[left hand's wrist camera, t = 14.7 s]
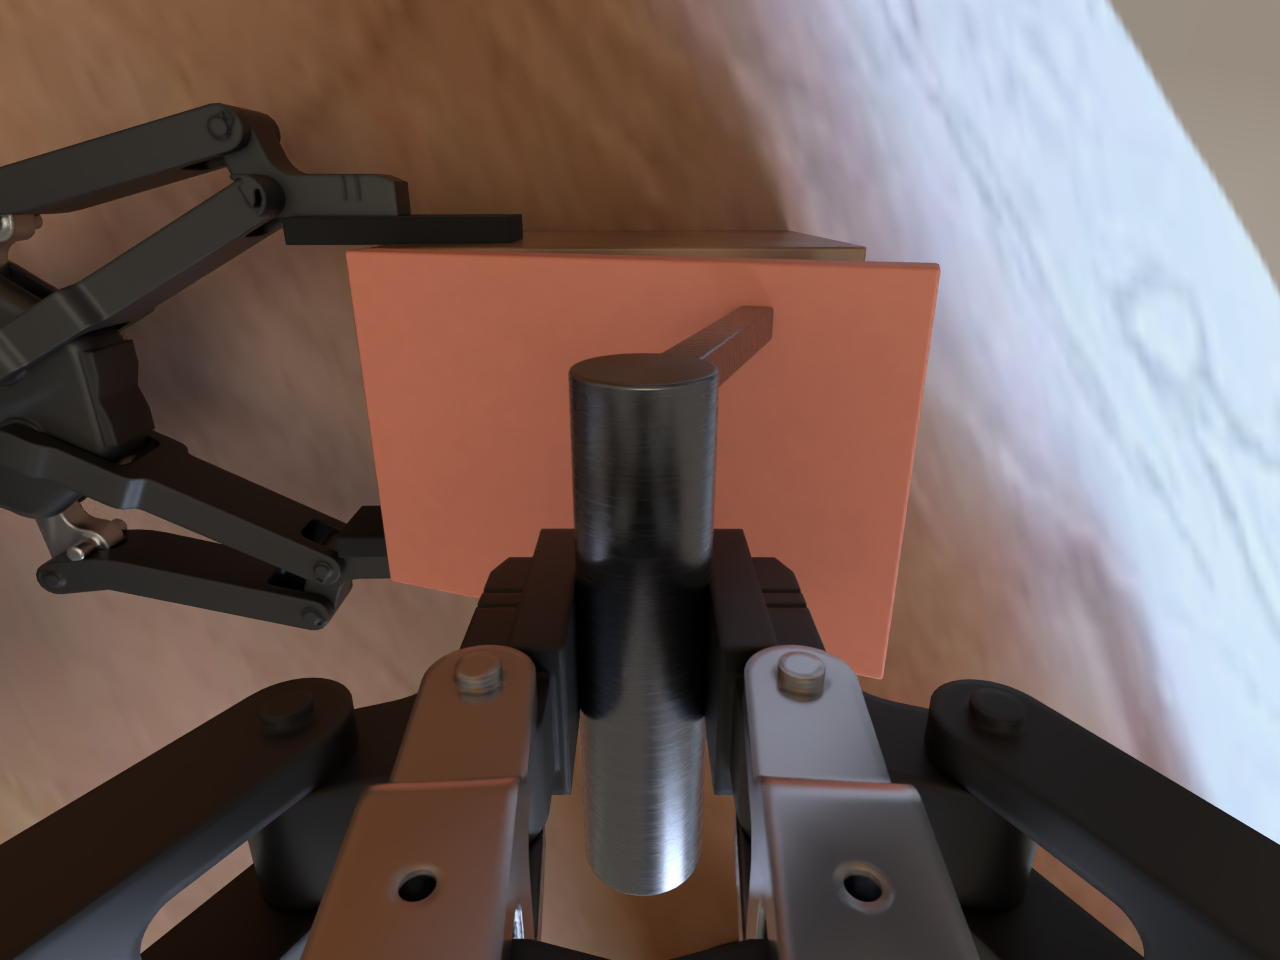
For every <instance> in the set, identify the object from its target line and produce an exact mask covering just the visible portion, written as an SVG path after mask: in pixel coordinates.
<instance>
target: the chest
mask: <svg viewBox="0 0 1280 960" xmlns="http://www.w3.org/2000/svg"><path fill="white" fill-rule="evenodd" d="M373 248H385V249H422V250H460V251H497V252H535V253H573V254H610V255H648V256H685V257H723V258H761V259H798V260H836V261H865V256H866V247H864V246H859V245H854V244H850V243H845V242H840V241H835V240H831V239H826V238H821V237H816V236H812V235H807V234H802V233H797V232H793V231H523V239H521V240H518V241H516V242H513V243H496V244H387V245H382V246H377V247H372V248H370V249H373Z"/></svg>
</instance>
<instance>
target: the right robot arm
mask: <svg viewBox="0 0 1280 960" xmlns="http://www.w3.org/2000/svg"><path fill="white" fill-rule="evenodd" d="M280 138H281V136H280V131H279V128H278V126H277V124H276V123H275V121H274V120H273V119H272V118H271V117H269V116H268V115H266V114H264V113H261V112H257V111H252V110H248V109H243V108H239V107H234V106H230V105H225V104H221V103H213V104H208V105H204V106H201V107H198V108H194V109H191V110H188V111H184V112H181V113H178V114H175V115H171V116H168V117H165V118H161V119H158V120H155V121H151V122H148V123H145V124H141V125H138V126H135V127H131V128H128V129H125V130H121V131H118V132H115V133H111V134H108V135H105V136H101V137H98V138H95V139H92V140H88V141H85V142H82V143H78V144H75V145H72V146H68V147H65V148H62V149H58V150H55V151H52V152H48V153H45V154H42V155H38V156H35V157H32V158H28V159H25V160H22V161H19V162H15V163H12V164H9V165H5V166H2V167H0V508H4V509H6V510H9V511H12V512H14V513H16V514H18V515H21V516H24V517H27V518H33V519H36V522H37V524H38V526H39V528H40V531H41V533H42V535H43V538H44V540H45V542H46V545H47V547H48V549H49V551H50V554H51V556H52V559H51V560H49V561H47V562H46V563H44V564H43V565H41V566H40V567H39V568H38V569H37V573H36V576H37V581H38V582H39V583H40V585H41V586H42V587H43V588H44V589H46V590H47V591H49V592H52V593H54V594H67V593H77V592H88V591H98V590H114V591H119V592H124V593H129V594H134V595H139V596H144V597H149V598H154V599H159V600H164V601H169V602H174V603H179V604H184V605H189V606H194V607H199V608H204V609H209V610H214V611H219V612H224V613H228V614H233V615H238V616H243V617H248V618H253V619H258V620H263V621H268V622H273V623H278V624H283V625H288V626H293V627H298V628H303V629H308V630H319V629H322V628H324V627H325V626H326V625H327V624H328V623H329V621H330V620H331V618H332V617H333V615H334V614H335V612H336V611H337V610H338V608H339V607H340V605H341V604H342V602H343V601H344V599H345V598H346V597H347V595H348V594H349V592H350V591H351V588H352V586H353V584H352V580H353V579H368V578H391V577H390V570H389V563H388V555H387V548H386V541H385V534H384V527H383V520H382V512H381V506H362V507H361V508H360V509H359V510H358V511H357V512H356V514H355V515H354V516H353V517H352V518H351V520H350V521H349V522H348V523H347V524H346V523H344V522H341V521H339V520H337V519H335V518H332V517H330V516H328V515H326V514H323V513H321V512H319V511H316V510H314V509H312V508H310V507H307V506H305V505H303V504H301V503H298V502H296V501H294V500H292V499H289V498H287V497H285V496H282V495H280V494H278V493H276V492H273V491H271V490H269V489H267V488H264V487H262V486H260V485H258V484H255V483H253V482H251V481H248V480H246V479H244V478H242V477H239V476H237V475H235V474H233V473H230V472H228V471H226V470H224V469H221V468H219V467H217V466H215V465H212V464H210V463H208V462H205V461H203V460H201V459H199V458H196V457H194V456H192V455H190V454H189V453H188V449H187V447H186V446H185V445H184V444H182V443H180V442H178V441H176V440H174V439H171V438H169V437H167V436H165V435H162V434H160V433H158V432H156V431H153V429H155V427H154V423H153V419H152V415H151V411H150V407H149V405H148V404H147V402H146V400H145V398H144V396H143V394H142V392H141V390H140V388H139V386H138V359H137V355H136V351H135V348H134V344H133V340H124V338H123V337H122V335H121V334H120V332H121V331H122V330H124V329H126V328H127V327H129V326H130V325H132V324H134V323H135V322H137V321H138V320H140V319H142V318H143V317H145V316H147V315H148V314H150V313H151V312H153V311H154V310H155V309H154V308H155V307H156V306H157V305H159V304H160V303H162V302H164V301H165V300H167V299H168V298H170V297H172V296H173V295H175V294H176V293H178V292H180V291H181V290H183V289H184V288H186V287H188V286H189V285H191V284H192V283H194V282H196V281H197V280H199V279H200V278H202V277H204V276H205V275H207V274H208V273H210V272H212V271H213V270H215V269H217V268H218V267H220V266H221V265H223V264H225V263H226V262H228V261H229V260H231V259H233V258H234V257H236V256H237V255H239V254H241V253H242V252H244V251H245V250H247V249H249V248H250V247H252V246H253V245H255V244H257V243H258V242H260V241H261V240H263V239H265V238H266V237H268V236H269V235H271V234H273V233H274V232H276V231H277V230H279V229H281V228H282V227H283V230H284V235H285V241H286V245H387V244H496V243H513V242H516V241H518V240H521V239H523V229H522V214H448V215H411V211H410V202H409V192H408V183H407V182H406V181H403V180H401V179H399V178H396V177H394V176H391V175H382V174H305V173H303V172H301V171H299V170H298V169H296V168H295V167H294V166H293V165H292V164H291V163H290V161H289V160H288V158H287V157H286V155H285V153H284V151H283V149H282V147H281V145H280ZM225 167H227V168H228V170H229V172H230V174H231V176H230V177H231V179H232V180H234V181H235V182H233V183H232V184H230V185H229V186H227V187H226V188H224V189H223V190H221V191H219V192H218V193H216V194H215V195H213V196H212V197H210V198H209V199H207V200H205V201H204V202H202V203H201V204H199V205H198V206H196V207H195V208H193V209H192V210H190V211H188V212H187V213H185V214H184V215H182V216H181V217H179V218H178V219H176V220H174V221H173V222H171V223H170V224H168V225H167V226H165V227H164V228H162V229H160V230H159V231H157V232H156V233H154V234H153V235H151V236H150V237H148V238H146V239H145V240H143V241H142V242H140V243H139V244H137V245H136V246H134V247H132V248H131V249H129V250H128V251H126V252H125V253H123V254H122V255H120V256H118V257H117V258H115V259H114V260H112V261H111V262H109V263H108V264H106V265H104V266H103V267H101V268H100V269H98V270H97V271H95V272H94V273H92V274H91V275H89V276H87V277H86V278H84V279H83V280H81V281H79V282H78V283H75V284H73V285H71V286H68V287H65V288H62V289H60V290H58V289H57V288H55V287H53V286H52V285H50V284H48V283H47V282H45V281H43V280H42V279H40V278H38V277H37V276H35V275H34V274H32V273H30V272H29V271H27V270H25V269H24V268H22V267H20V266H19V265H17V264H15V263H13V262H11V261H8V251H9V248H10V247H11V245H12V244H14V243H15V242H18V241H23V240H28V239H29V238H31V237H32V236H33V235H34V233H35V230H36V229H38V228H40V227H41V226H42V218H41V216H40V214H56V213H68V212H72V211H77V210H82V209H85V208H88V207H92V206H95V205H99V204H102V203H105V202H109V201H112V200H116V199H119V198H122V197H126V196H129V195H133V194H136V193H139V192H143V191H146V190H150V189H153V188H156V187H160V186H163V185H167V184H170V183H173V182H177V181H180V180H184V179H187V178H190V177H194V176H197V175H201V174H204V173H208V172H211V171H214V170H218V169H221V168H225ZM130 461H131V462H130ZM87 497H89V498H91V499H93V500H96V501H98V502H100V503H103V504H105V505H108V506H110V507H113V508H116V509H141V510H144V511H146V512H148V513H151V514H153V515H155V516H158V517H160V518H163V519H165V520H167V521H170V522H172V523H174V524H177V525H179V526H181V527H184V528H186V529H189V530H191V531H193V532H196V533H198V534H200V535H203V536H205V537H208V538H210V539H212V540H215V541H217V542H219V543H222V544H218V543H214V542H209V541H204V540H199V539H195V538H190V537H185V536H180V535H176V534H171V533H166V532H160V531H154V530H141V529H136V530H127V525H126V523H125V522H124V521H123V520H121V519H114V520H112V521H109V520H106V519H99V518H95V517H93V516H91V515H89V514H88V513H87V512H86V511H85V510H84V509H83V507H82V506H81V504H80V502H82V501H83V500H84V499H85V498H87ZM223 544H224V545H223Z"/></svg>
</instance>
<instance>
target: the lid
mask: <svg viewBox="0 0 1280 960" xmlns="http://www.w3.org/2000/svg"><path fill="white" fill-rule="evenodd" d="M346 261H347V268H348V275H349V282H350V290H351V297H352V304H353V311H354V318H355V325H356V333H357V340H358V347H359V354H360V361H361V369H362V376H363V383H364V390H365V397H366V405H367V412H368V419H369V426H370V433H371V440H372V448H373V455H374V462H375V469H376V476H377V484H378V491H379V498H380V505H381V512H382V520H383V527H384V534H385V541H386V548H387V555H388V563H389V570H390V577H391V580H392V581H395V582H400V583H405V584H410V585H415V586H420V587H425V588H430V589H435V590H440V591H445V592H450V593H455V594H460V595H465V596H470V597H475V598H480V597H481V594H482V593H483V592H484V587H485V584H486V582H487V579H488V577H489V574H490V572H491V571H492V570H494V569H495V568H496V567H497V566H499V565H500V564H501V563H502V562H504V561H505V560H506V559H507V558H508V557H533V554H534V551H535V548H536V544H537V541H538V538H539V534H540V531H541V529H542V528H574V544H575V572H576V596H577V624H578V652H579V679H580V706H581V735H582V763H583V790H584V817H585V844H586V855H587V859H588V862H589V865H590V866H591V868H592V870H593V871H594V873H595V874H596V875H597V877H598V878H599V879H600V880H601V881H603V882H604V883H605V884H606V885H608V886H609V887H611V888H613V889H615V890H617V891H619V892H622V893H625V894H629V895H635V896H652V895H658V894H662V893H665V892H668V891H670V890H672V889H674V888H676V887H678V886H679V885H681V884H682V883H683V882H684V881H686V880H687V879H688V878H689V876H690V875H691V874H692V873H693V871H694V870H695V868H696V867H697V864H698V862H699V859H700V855H701V843H702V817H703V792H704V766H705V741H706V738H707V733H706V725H705V690H706V663H707V637H708V611H709V585H710V581H711V578H712V559H713V533H714V529H743V531H744V534H745V538H746V541H747V544H748V547H749V551H750V554H751V557H775V558H776V559H778V560H779V561H780V562H782V563H783V564H784V565H785V566H787V567H788V568H789V569H790V570H792V571H793V572H794V574H795V577H796V579H797V582H798V584H799V587H800V589H801V593H802V594H803V596H804V599H805V601H806V604H807V608H809V611H810V613H811V616H812V618H813V621H814V623H815V626H816V628H817V630H818V633H819V635H820V638H821V640H822V643H823V645H824V648H825V650H826V652H828V653H831V654H832V655H834V656H836V657H838V658H840V659H841V660H843V661H844V662H845V663H846V664H847V665H849V666H850V667H851V669H852V670H853V671H854V672H855V674H857V675H862V676H867V677H872V678H877V679H882V677H883V674H884V667H885V660H886V653H887V646H888V638H889V631H890V624H891V617H892V610H893V603H894V596H895V589H896V582H897V575H898V568H899V561H900V553H901V546H902V539H903V532H904V525H905V518H906V511H907V504H908V497H909V490H910V483H911V476H912V468H913V461H914V454H915V447H916V440H917V433H918V426H919V419H920V412H921V405H922V398H923V391H924V384H925V376H926V369H927V362H928V355H929V348H930V341H931V334H932V327H933V320H934V313H935V306H936V299H937V291H938V284H939V277H940V266H939V264H937V263H911V262H873V261H836V260H798V259H761V258H723V257H685V256H648V255H610V254H573V253H535V252H497V251H460V250H422V249H385V248H373V249H362V250H351V251H347V252H346Z"/></svg>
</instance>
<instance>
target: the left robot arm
mask: <svg viewBox="0 0 1280 960" xmlns="http://www.w3.org/2000/svg"><path fill="white" fill-rule="evenodd" d="M580 709H581V706H580V679H579V652H578V624H577V596H576V572H575V544H574V528H542V529H541V531H540V534H539V538H538V541H537V544H536V548H535V551H534V554H533V557H508V558H507V559H506V560H505V561H504V562H502V563H501V564H500V565H499V566H497V567H496V568H495V569H494V570H492V571H491V572H490V574H489V577H488V579H487V582H486V584H485V587H484V592H483V593H482V594H481V597H480V599H479V602H478V608H476V609H475V612H474V614H473V617H472V620H471V622H470V625H469V627H468V630H467V632H466V635H465V637H464V640H463V642H462V645H461V647H460V650H457V651H454V652H452V653H450V654H448V655H446V656H444V657H442V658H440V659H439V660H438V661H436V662H435V663H434V664H433V665H432V666H430V667H429V669H428V670H427V671H426V673H425V674H424V676H423V679H422V681H421V684H420V687H419V691H418V693H417V694H415V695H412V696H409V697H406V698H403V699H399V700H395V701H391V702H386V703H382V704H377V705H372V706H367V707H362V708H358V709H354V707H353V701H352V695H351V693H350V692H349V690H348V689H347V688H346V687H345V686H344V685H342V684H340V683H339V682H336V681H333V680H330V679H324V678H301V679H295V680H289V681H285V682H281V683H278V684H275V685H272V686H269V687H267V688H265V689H262V690H260V691H258V692H256V693H254V694H252V695H251V696H249V697H247V698H245V699H244V700H242V701H240V702H239V703H237V704H235V705H234V706H232V707H230V708H229V709H227V710H225V711H224V712H222V713H220V714H219V715H217V716H215V717H214V718H212V719H210V720H209V721H207V722H205V723H204V724H202V725H200V726H199V727H197V728H195V729H194V730H192V731H190V732H189V733H187V734H185V735H183V736H182V737H180V738H178V739H177V740H175V741H173V742H172V743H170V744H168V745H167V746H165V747H163V748H162V749H160V750H158V751H157V752H155V753H153V754H152V755H150V756H148V757H147V758H145V759H143V760H142V761H140V762H138V763H137V764H135V765H133V766H132V767H130V768H128V769H127V770H125V771H123V772H121V773H120V774H118V775H116V776H115V777H113V778H111V779H110V780H108V781H106V782H105V783H103V784H101V785H100V786H98V787H96V788H95V789H93V790H91V791H90V792H88V793H86V794H85V795H83V796H81V797H80V798H78V799H76V800H75V801H73V802H71V803H70V804H68V805H66V806H65V807H63V808H61V809H60V810H58V811H56V812H54V813H53V814H51V815H49V816H48V817H46V818H44V819H43V820H41V821H39V822H38V823H36V824H34V825H33V826H31V827H29V828H28V829H26V830H24V831H23V832H21V833H19V834H18V835H16V836H14V837H13V838H11V839H9V840H8V841H6V842H4V843H3V844H1V845H0V960H609V959H606V958H602V957H598V956H594V955H590V954H587V953H583V952H579V951H575V950H571V949H567V948H564V947H560V946H556V945H552V944H548V943H544V942H541V932H542V912H543V891H544V871H545V851H546V836H545V823H546V821H547V818H548V814H549V809H550V802H551V795H571V787H572V779H573V770H574V761H575V753H576V744H577V735H578V726H579V718H580ZM705 725H706V733H707V741H708V749H709V757H710V765H711V773H712V782H713V790H714V795H734V801H735V808H736V820H735V837H734V850H735V870H736V890H737V911H738V931H739V942H736V943H732V944H728V945H724V946H720V947H716V948H713V949H709V950H705V951H701V952H697V953H693V954H690V955H686V956H682V957H678V958H674V959H671V960H1280V845H1279V844H1277V843H1276V842H1274V841H1272V840H1271V839H1269V838H1267V837H1266V836H1264V835H1262V834H1261V833H1259V832H1257V831H1256V830H1254V829H1252V828H1251V827H1249V826H1247V825H1246V824H1244V823H1242V822H1241V821H1239V820H1237V819H1236V818H1234V817H1232V816H1231V815H1229V814H1227V813H1226V812H1224V811H1222V810H1221V809H1219V808H1217V807H1215V806H1214V805H1212V804H1210V803H1209V802H1207V801H1205V800H1204V799H1202V798H1200V797H1199V796H1197V795H1195V794H1194V793H1192V792H1190V791H1189V790H1187V789H1185V788H1184V787H1182V786H1180V785H1179V784H1177V783H1175V782H1174V781H1172V780H1170V779H1169V778H1167V777H1165V776H1164V775H1162V774H1160V773H1159V772H1157V771H1155V770H1153V769H1152V768H1150V767H1148V766H1147V765H1145V764H1143V763H1142V762H1140V761H1138V760H1137V759H1135V758H1133V757H1132V756H1130V755H1128V754H1127V753H1125V752H1123V751H1122V750H1120V749H1118V748H1117V747H1115V746H1113V745H1112V744H1110V743H1108V742H1107V741H1105V740H1103V739H1102V738H1100V737H1098V736H1097V735H1095V734H1093V733H1092V732H1090V731H1088V730H1086V729H1085V728H1083V727H1081V726H1080V725H1078V724H1076V723H1075V722H1073V721H1071V720H1070V719H1068V718H1066V717H1065V716H1063V715H1061V714H1060V713H1058V712H1056V711H1055V710H1053V709H1051V708H1050V707H1048V706H1046V705H1045V704H1043V703H1041V702H1040V701H1038V700H1036V699H1035V698H1033V697H1031V696H1029V695H1027V694H1025V693H1024V692H1021V691H1019V690H1017V689H1014V688H1012V687H1009V686H1006V685H1003V684H999V683H995V682H990V681H984V680H972V679H967V680H957V681H951V682H949V683H946V684H943V685H942V686H940V687H938V688H937V689H936V690H935V691H934V693H933V694H932V696H931V701H930V706H929V709H927V708H922V707H917V706H912V705H908V704H903V703H898V702H893V701H889V700H885V699H882V698H879V697H876V696H873V695H870V694H868V693H866V692H864V691H862V690H861V687H860V684H859V681H858V678H857V676H856V674H855V672H854V671H853V670H852V669H851V667H850V666H849V665H847V664H846V663H845V662H844V661H843V660H841V659H840V658H838V657H836V656H834V655H832V654H831V653H828V652H826V650H825V648H824V645H823V643H822V640H821V638H820V635H819V633H818V630H817V628H816V626H815V623H814V621H813V618H812V616H811V613H810V611H809V608H807V604H806V601H805V599H804V596H803V594H802V593H801V589H800V587H799V584H798V582H797V579H796V577H795V574H794V572H793V571H792V570H790V569H789V568H788V567H787V566H785V565H784V564H783V563H782V562H780V561H779V560H778V559H776V558H775V557H751V554H750V551H749V547H748V544H747V541H746V538H745V534H744V531H743V529H714V533H713V559H712V578H711V581H710V585H709V611H708V637H707V663H706V690H705ZM247 840H248V843H249V847H250V851H251V855H252V859H253V864H252V865H251V866H250V867H248V868H247V869H246V870H245V871H243V872H242V873H241V874H240V875H238V876H237V877H236V878H235V879H233V880H232V881H231V882H230V883H228V884H227V885H226V886H225V887H223V888H222V889H221V890H220V891H218V892H217V893H216V894H215V895H213V896H212V897H211V898H210V899H208V900H207V901H206V902H205V903H203V904H202V905H201V906H200V907H198V908H197V909H196V910H195V911H193V912H192V913H191V914H190V915H188V916H187V917H186V918H185V919H183V920H182V921H181V922H180V923H178V924H177V925H176V926H175V927H173V928H172V929H171V930H170V931H169V932H167V933H166V934H165V935H164V936H162V937H161V938H160V939H159V940H157V941H156V942H155V943H154V944H152V945H151V946H150V947H149V948H147V949H146V950H145V951H144V952H142V953H141V954H140V946H141V942H142V938H143V936H144V933H145V931H146V929H147V927H148V925H149V923H150V922H151V920H152V919H153V917H154V916H155V915H156V914H157V912H158V911H159V910H160V909H161V908H162V907H163V906H164V905H165V904H166V903H167V902H168V901H169V900H170V899H172V898H173V897H174V896H175V895H177V894H178V893H179V892H181V891H182V890H183V889H184V888H186V887H187V886H188V885H190V884H191V883H192V882H194V881H195V880H196V879H197V878H199V877H200V876H201V875H203V874H204V873H205V872H207V871H208V870H209V869H210V868H212V867H213V866H214V865H216V864H217V863H218V862H220V861H221V860H222V859H223V858H225V857H226V856H227V855H229V854H230V853H231V852H233V851H234V850H235V849H237V848H238V847H239V846H240V845H242V844H243V843H244V842H246V841H247ZM1037 844H1038V845H1040V846H1041V847H1042V848H1044V849H1045V850H1046V851H1047V852H1049V853H1050V854H1051V855H1053V856H1054V857H1055V858H1057V859H1058V860H1059V861H1060V862H1062V863H1063V864H1064V865H1066V866H1067V867H1068V868H1070V869H1071V870H1072V871H1073V872H1075V873H1076V874H1077V875H1079V876H1080V877H1081V878H1083V879H1084V880H1085V881H1086V882H1088V883H1089V884H1090V885H1092V886H1093V887H1094V888H1096V889H1097V890H1098V891H1099V892H1101V893H1102V894H1103V895H1105V896H1106V897H1107V898H1109V899H1110V900H1111V901H1112V902H1114V903H1115V904H1116V905H1117V906H1118V907H1119V908H1120V909H1121V910H1122V911H1123V912H1124V913H1125V914H1126V915H1127V917H1128V918H1129V919H1130V920H1131V922H1132V923H1133V925H1134V926H1135V928H1136V930H1137V931H1138V933H1139V935H1140V938H1141V940H1142V943H1143V947H1144V957H1143V956H1141V955H1140V954H1139V953H1138V952H1136V951H1135V950H1134V949H1133V948H1131V947H1130V946H1129V945H1128V944H1126V943H1125V942H1124V941H1123V940H1121V939H1120V938H1119V937H1118V936H1116V935H1115V934H1114V933H1113V932H1112V931H1110V930H1109V929H1108V928H1107V927H1105V926H1104V925H1103V924H1102V923H1100V922H1099V921H1098V920H1097V919H1095V918H1094V917H1093V916H1092V915H1090V914H1089V913H1088V912H1087V911H1085V910H1084V909H1083V908H1082V907H1080V906H1079V905H1078V904H1077V903H1075V902H1074V901H1073V900H1072V899H1070V898H1069V897H1068V896H1067V895H1065V894H1064V893H1063V892H1062V891H1060V890H1059V889H1058V888H1057V887H1055V886H1054V885H1053V884H1052V883H1050V882H1049V881H1048V880H1047V879H1045V878H1044V877H1043V876H1042V875H1040V874H1039V873H1038V872H1037V871H1035V870H1034V869H1033V868H1032V864H1033V860H1034V856H1035V852H1036V848H1037Z"/></svg>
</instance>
